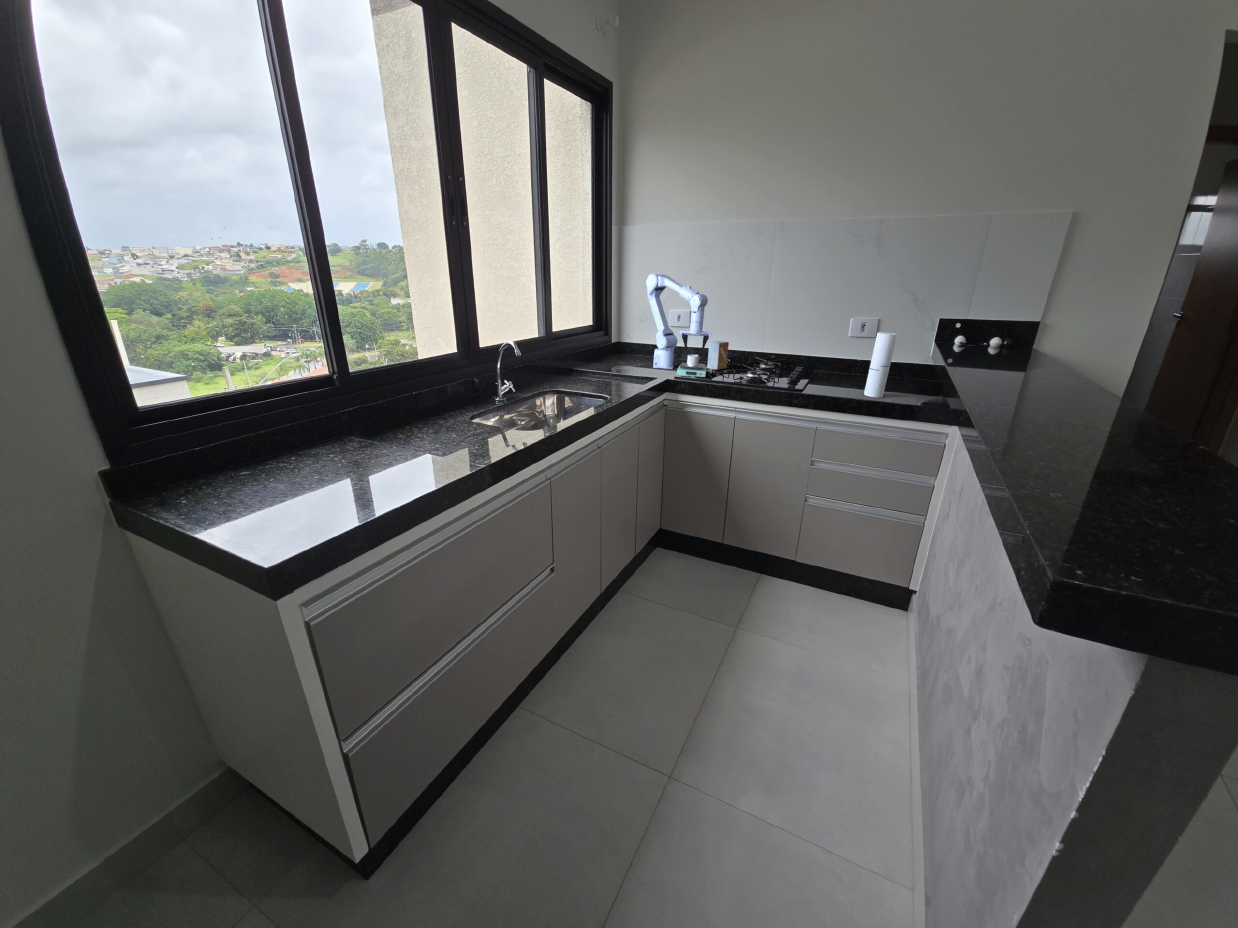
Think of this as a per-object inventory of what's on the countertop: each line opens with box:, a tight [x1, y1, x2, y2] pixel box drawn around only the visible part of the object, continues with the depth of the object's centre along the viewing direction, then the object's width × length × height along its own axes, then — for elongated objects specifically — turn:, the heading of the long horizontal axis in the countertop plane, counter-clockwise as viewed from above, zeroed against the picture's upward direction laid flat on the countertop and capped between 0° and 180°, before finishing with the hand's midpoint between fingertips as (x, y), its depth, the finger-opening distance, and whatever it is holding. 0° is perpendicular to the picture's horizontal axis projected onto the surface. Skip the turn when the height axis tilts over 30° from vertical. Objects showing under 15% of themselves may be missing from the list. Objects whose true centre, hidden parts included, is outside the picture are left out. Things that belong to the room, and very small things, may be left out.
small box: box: [706, 340, 730, 370], centre depth 251 cm, size 8×6×13 cm
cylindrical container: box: [863, 331, 898, 398], centre depth 204 cm, size 7×7×25 cm
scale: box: [676, 365, 708, 378], centre depth 237 cm, size 13×11×2 cm
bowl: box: [686, 354, 700, 366], centre depth 235 cm, size 5×5×4 cm
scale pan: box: [679, 362, 706, 370], centre depth 236 cm, size 11×9×1 cm
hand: (694, 351), depth 236 cm, fingers open, 7 cm apart
